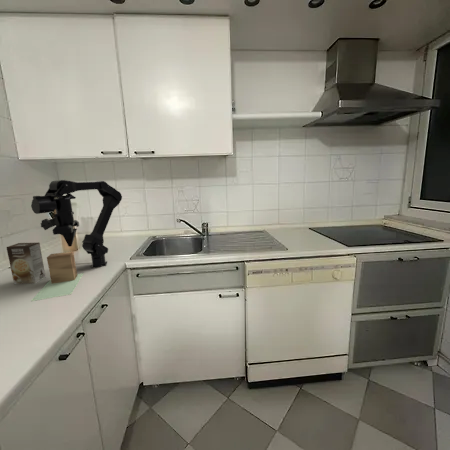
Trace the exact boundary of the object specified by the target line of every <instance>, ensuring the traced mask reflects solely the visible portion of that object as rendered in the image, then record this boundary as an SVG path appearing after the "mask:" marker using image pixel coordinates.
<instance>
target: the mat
mask: <svg viewBox="0 0 450 450" xmlns="http://www.w3.org/2000/svg"><path fill="white" fill-rule="evenodd" d="M84 274H85V273H84V272H82V273H77V277H76V279H75V280H72V281H66V282H59V283H53V284H52V282H51V278H50V279H49V280H48V281H47V283H46V284H45V285H44V286H43V287H42V288H41V289H40V290H39V291H38V292H37V294H36V295H35V296H34V297H33V298H32V299H31V300H30V302H34V301H40V300H47V299H53V298H58V297H64V296H70V295H72V293H73V292H74V290H75V289H76V287H77V285H78V284H79V282H80V280H81V278H82V277H83V275H84Z"/></svg>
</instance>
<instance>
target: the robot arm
mask: <svg viewBox="0 0 450 450" xmlns="http://www.w3.org/2000/svg"><path fill="white" fill-rule="evenodd" d="M90 190H97V191H98V193H99V195H100V196H101V197H102V208H101V210H100V213H99V215H98V217H97V220H96V222H95V224H94V227H93V228H92V231H91V232H90V233H88V234H85V235H84V238H83V240H82V241H81V243H82V244H81V246H82V248H83V250H84V251H85V252H86V253H87V255H89V254H90V256H91V266H90V268H91V269H95V268H101V267H102V268H103V267H106V266H107V265H108V261H106V256H105V255H106V254H108V252H109V247H107V246H105V245H104V233H105V231H106V229H107V226H108V224H109V222H110V218H111V216H112V214H113V211H114V210H115V209H116V207H118V206H119V205H120V203H121V201H122V199H123V196H122V193H121V192H120V191H118V190H117V189H116V188H114V187H113V186H112V185H110V184H108V183H107V182H106V181H104V180H96V181H79V182H77V181H72V180H66V179H60V180H58V179H56V180H51V182H49V184H48V189H47V191H46V193H45V194H44V195H33V196H32V200H31V206H30V207H31V210H32V211H33V213H34V214H36V215H39V214H47V213H53V212H55V214H54V217H53V218H51V219H48V218H44V219H42V220H41V222H40V227H41V228H43V229H44V231H47V230H49V229H50V228H52V227H54V228H52V235H60V236H62V237H63V238H64V240H65V242H66V244H67V247H72V246H73V243H74V239H75V237H76V233H77V230H78V228H74V227H80V222H79V221H78V220H76V219H74V215H75V212H74V211H73V208H72V207H73V206H72V200H75V199H76V198H77V197H76V196H74V195H73V193H75V192H78V191H90Z"/></svg>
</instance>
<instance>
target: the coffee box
mask: <svg viewBox="0 0 450 450" xmlns="http://www.w3.org/2000/svg"><path fill="white" fill-rule="evenodd" d="M5 248H6V253H7V257H8V262H9V266H10V270H11V276H12V280H13V281H12V282H13V284H14V285H18V284H19V285H20V284H36V283H38V282H39V281H41V280H43V279H45V278H46V270H45V264H44V260H43V255H42V249H41V243H40V242H18V243H15V244H12V245H9V246H6V247H5Z"/></svg>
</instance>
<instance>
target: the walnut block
mask: <svg viewBox="0 0 450 450" xmlns="http://www.w3.org/2000/svg"><path fill="white" fill-rule="evenodd" d="M46 261H47V266H48V272H49V277H50V279H51V282H52V284H53V283H59V282H66V281H72V280H75V279H76V277H77V274H78V272H77V271H78V270H77V265H76V259H75V254H74V250H73V251H65V252H57V253H51V254H49V255H48V256H47V257H46Z"/></svg>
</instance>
